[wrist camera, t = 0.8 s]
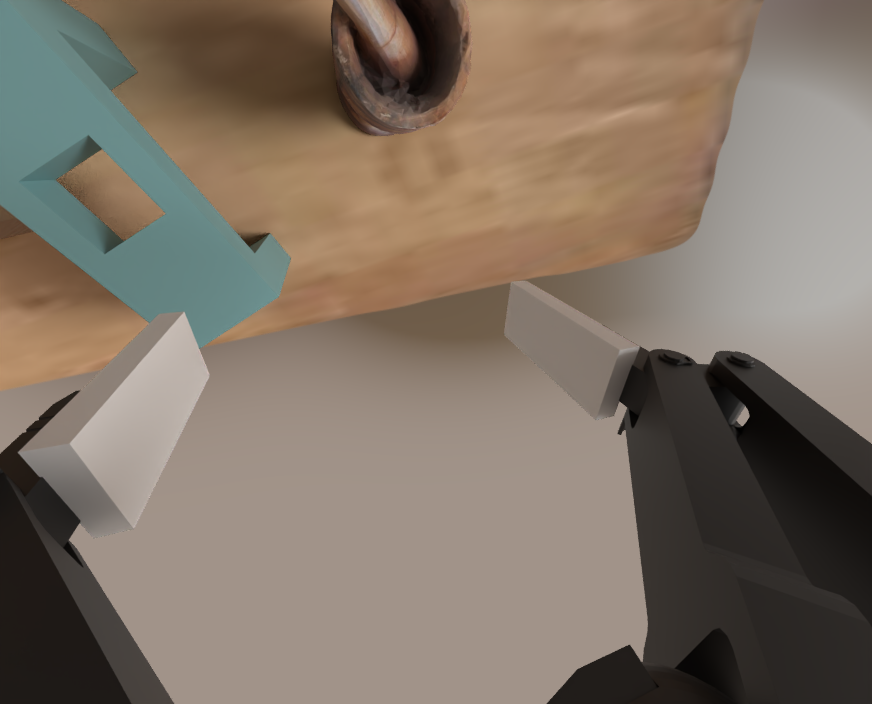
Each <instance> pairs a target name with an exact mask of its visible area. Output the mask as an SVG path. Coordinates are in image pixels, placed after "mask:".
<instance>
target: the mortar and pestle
mask: <svg viewBox="0 0 872 704" xmlns="http://www.w3.org/2000/svg"><path fill="white" fill-rule="evenodd" d="M331 36H332V52H333V60H334V67H335V72H336V76H337V90H338V94H339V97H340V100H341V103H342V105H343V107H344V109H345V111H346V112H347V114H348V116H349V117H350V119H351V120H352V121H353V122H354V124H355V125H356V126H357V127H358V128H360V129H361V130H363V131H364V132H366V133H369V134H371V135H375V136H388V135H394V134H403V133H410V132H413V131H416V130H419V129H421V128H425V127H428V126H435V125H436V124H438V123H439V122H441V121H442V120H444V118H445V117H446V116H447V114H448V113H449V112H450V111H451V110H452V109H453V108H454V106H455V105H456V103H457V101H458V100H459V99H460V97H461V95H462V93H463V91H464V89H465V87H466V84H467V80H468V76H469V73H470V70H471V61H470V60H471V51H472V45H473V44H472V36H471V25H470V18H469V11H468V7H467V5H466V2H465V0H333V7H332V13H331Z"/></svg>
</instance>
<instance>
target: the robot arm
mask: <svg viewBox="0 0 872 704" xmlns="http://www.w3.org/2000/svg"><path fill="white" fill-rule="evenodd" d="M504 335H505V336H506V337H507V338H508V339H509V340H510V341H511V342H512V343H513V344H515V345H516V346H517V347H518V348H519V349H520V350H521V351H522V352H523V353H524V354H525V355H526V356H527V357H529V358H530V359H531V360H532V361H533V362H534V363H535V364H536V365H537V366H538V367H539V368H540V369H541V370H542V371H544V372H545V373H546V374H547V375H548V376H549V377H550V378H551V379H552V380H553V381H554V382H556V384H557V385H559V386H560V387H561V388H562V389H563V390H564V391H565V392H566V393H567V394H568V395H570V397H572V399H574V400H575V401H576V402H577V403H578V404H579V405H580V406H581V407H582V408H583V409H584V410H585V411H586V412H588V413H589V414H590V415H591V416H592V417H593V418H594V419H595V420H599V419H603V418H607V417H611V416H614V414H615V412H616V409H617V406H618V403H619V401H620V402H621V403H622V404H624V405H625V406H626V407H627V410H626V413H625V415H624V418H623V420H622V423H621V425H620V428H619V430H618V434H619V435H621V434H622V431H624V430H626V437H627V446H628V455H629V463H630V471H631V480H632V488H633V497H634V505H635V514H636V523H637V531H638V539H639V547H640V556H641V565H642V573H643V582H644V590H645V599H646V608H647V616H648V632H647V637H646V642H645V647H644V655H643V662H641V661H640V659H639V658H638V656H637V655H636V653H635V652H634V650H633V649H632V647H631V646H630V645H628V646H625V647H624V648H621V649H619V650H617V651H615V652H613V653H611V654H609V655H606V656H605V657H602V658H600V659H598V660H596V661H594V662H592V663H590V664H588V665H585V666H583V667H581V668H579V669H577V670H576V672H575V673H574V674H573V675H572V676H571V677H570V678H569V679H568V680H567V682H566V683H565V684H564V685H563V686H562V687H561V688H560V689H559V690H558V692H557V693H556V694H555V695H554V696H553V697H552V698H551V699H550V701H549V702H548V703H547V704H872V444H871V443H870V442H868V441H867V440H866V439H864V438H863V437H862V436H860V435H859V434H857V433H856V432H855V431H854V430H852V429H851V428H850V427H848V426H847V425H846V424H844V423H843V422H841V421H840V420H839V419H838V418H836V417H835V416H833V415H832V414H831V413H829V412H828V411H827V410H826V409H824V408H823V407H821V406H820V405H819V404H817V403H816V402H815V401H813V400H812V399H811V398H809V397H808V396H807V395H806V394H804V393H803V392H802V391H800V390H799V389H798V388H796V387H795V386H793V385H792V384H791V383H790V382H788V381H787V380H785V379H784V378H783V377H781V376H780V375H779V374H777V373H776V372H775V371H773V370H772V369H771V368H769V367H768V366H767V365H765V364H764V363H762V362H761V361H759V360H757V359H755V358H753V357H751V356H750V355H748V354H745V353H741V352H730V351H719V352H716V353H715V355H714V357H713V359H712V361H711V363H710V365H708V364H697V363H696V362H695V361H694V360H693V359H691V358H690V357H688V356H686V355H684V354H681V353H679V352H675V351H671V350H664V349H656V350H652V351H650V352H649V351H647V350H646V349H644V348H642V347H640V346H639V345H637V344H635V343H633V342H632V341H630V340H628V339H626V338H625V337H622V336H621V335H619V334H618V333H616V332H614V331H612V330H611V329H609V328H607V327H606V326H604V325H602V324H600V323H598V322H596V321H595V320H593V319H591V318H589V317H588V316H586V315H584V314H583V313H581V312H579V311H577V310H576V309H574V308H572V307H570V306H569V305H567V304H565V303H564V302H562V301H560V300H558V299H557V298H555V297H553V296H551V295H550V294H548V293H546V292H544V291H543V290H541V289H539V288H538V287H536V286H534V285H532V284H530V283H529V282H527V281H515V282H511V286H510V295H509V302H508V309H507V317H506V324H505V331H504ZM209 376H210V375H209V372H208V370H207V367H206V365H205V362H204V360H203V357H202V355H201V352H200V350H199V347H198V345H197V342H196V340H195V337H194V335H193V332H192V330H191V327H190V325H189V322H188V320H187V317H186V315H185V312H174V313H163V314H158V315H157V316H156V317H155V318H154V319H153V320H152V321H151V322H150V323H149V324H148V325H147V326H146V327H145V328H144V329H143V330H142V331H141V332H140V333H139V334H138V335H137V336H136V337H135V338H134V339H133V340H132V341H131V342H130V343H129V344H128V345H127V346H126V347H125V348H124V349H123V350H122V351H121V352H120V353H119V354H118V355H117V356H116V357H115V358H114V359H113V360H112V361H110V362H109V363H108V364H107V365H106V366H105V367H104V368H103V369H102V370H101V371H100V372H99V373H98V374H97V375H96V376H95V377H94V378H93V379H92V380H91V381H90V382H89V383H88V384H87V385H86V386H85V387H84V388H83V389H82V390H81V391H75V392H73V393H72V394H70V395H68V396H67V397H65V398H63V399H62V400H60V401H58V402H56V403H55V404H53V405H52V406H51V407H50V408H49V409H48V410H47V411H46V412H45V413H44V414H42V415H41V416H40V417H39V420H38V421H35V422H34V423H33V424H32V425H31V426H30V427H29V428H27V429H26V432H25V433H22V434H21V435H20V436H19V437H18V438H17V439H16V440H15V441H13V442H12V443H11V444H10V445H9V446H8V447H7V448H6V449H5V450H4V451H3V452H2V453H1V454H0V704H174V703H173V701H172V700H171V698H170V696H169V695H168V693H167V692H166V690H165V688H164V687H163V685H162V684H161V682H160V680H159V679H158V677H157V676H156V674H155V672H154V671H153V669H152V668H151V666H150V664H149V663H148V661H147V660H146V658H145V657H144V655H143V653H142V652H141V650H140V649H139V647H138V646H137V644H136V642H135V641H134V639H133V637H132V636H131V634H130V633H129V631H128V629H127V628H126V626H125V625H124V623H123V622H122V620H121V618H120V617H119V615H118V614H117V612H116V610H115V609H114V607H113V606H112V604H111V602H110V601H109V599H108V598H107V596H106V595H105V593H104V592H103V590H102V588H101V587H100V585H99V583H98V582H97V580H96V579H95V577H94V575H93V574H92V572H91V571H90V569H89V568H88V566H87V564H86V563H85V561H84V560H83V558H82V556H81V555H80V553H79V552H78V550H77V548H75V546H74V545H73V544H72V543H71V542H70V541H69V538H70V537H71V535H72V534H73V532H74V531H75V529H76V528H77V526H78V524H79V523H80V524H81V525H82V526H83V527H84V528H85V529H86V531H87V532H88V533H89V534H90V535H91V536H92V537H93V538H98V537H102V536H106V535H110V534H115V533H119V532H123V531H127V530H132V529H134V528H135V526H136V523H137V522H138V520H139V518H140V516H141V513H142V511H143V509H144V507H145V505H146V503H147V501H148V499H149V497H150V495H151V493H152V491H153V489H154V487H155V485H156V483H157V481H158V479H159V477H160V475H161V473H162V471H163V469H164V467H165V465H166V463H167V461H168V459H169V457H170V455H171V453H172V451H173V449H174V447H175V445H176V443H177V441H178V438H179V436H180V435H181V432H182V431H183V429H184V426H185V424H186V422H187V420H188V418H189V416H190V414H191V412H192V410H193V408H194V406H195V404H196V402H197V400H198V398H199V396H200V394H201V392H202V390H203V388H204V386H205V384H206V381H207V380H208V378H209ZM745 406H746V408H747V409H748V411H749V415H750V417H749V419H748V420H747V422H746V423H745V424H744V426H741V425H740V424H739V423H738V422H737V421H736V420H737V418H738V417H739V415H740V414H741V412H742V410H743V409H744V407H745Z"/></svg>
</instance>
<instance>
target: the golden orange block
mask: <svg viewBox="0 0 872 704" xmlns="http://www.w3.org/2000/svg"><path fill="white" fill-rule="evenodd" d="M30 232H34V231H33V230H31V229H30V228H29V227H28V226H26V225H25V224H24V223H22V222H21V221H20V220H19V219H17V218H16V217H15V216H14V215H12V214H11V213H10V212H9V211H7V210H6V209H5V208H3V207H2V206H1V205H0V239H3V238H7V237H12V236H16V235H21V234H25V233H30Z"/></svg>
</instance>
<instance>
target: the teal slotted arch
mask: <svg viewBox="0 0 872 704" xmlns="http://www.w3.org/2000/svg"><path fill="white" fill-rule="evenodd" d="M136 73H137V71H136V70H135V68H134V67H133V66H132V65H131V64H130V62H129V61H128V60H127V59H126V57H125V56H124V55H123V54H122V53H121V51H120V50H119V49H118V48H117V47H116V45H115V44H114V43H113V42H112V40H111V39H110V38H109V37H108V36H107V34H106V33H105V32H104V31H103V30H102V28H101V27H100V26H99V25H98V24H97V23H96V22H94V21H92V20H91V19H89V18H88V17H86V16H85V15H83V14H82V13H80V12H79V11H77V10H75V9H74V8H72V7H71V6H69V5H68V4H66V3H65V2H63V1H62V0H0V205H1V206H2V207H3V208H5V209H6V210H7V211H9V212H10V213H11V214H12V215H14V216H15V217H16V218H17V219H19V220H20V221H21V222H22V223H24V224H25V225H26V226H28V227H29V228H30V229H31V230H33V231H34V232H35V233H36V234H38V235H39V236H40V237H41V238H43V239H44V240H45V241H47V242H48V243H49V244H50V245H52V246H53V247H54V248H55V249H57V250H58V251H59V252H60V253H62V254H63V255H64V256H65V257H67V258H68V259H69V260H71V261H72V262H73V263H74V264H76V265H77V266H78V267H79V268H81V269H82V270H83V271H84V272H86V273H87V274H88V275H90V276H91V277H92V278H93V279H95V280H96V281H97V282H98V283H100V284H101V285H102V286H103V287H105V288H106V289H107V290H109V291H110V292H111V293H112V294H114V295H115V296H116V297H117V298H119V299H120V300H121V301H122V302H124V303H125V304H126V305H128V306H129V307H130V308H131V309H133V310H134V311H135V312H136V313H138V314H139V315H140V316H141V317H143V318H144V319H145V320H146V321H148V322H149V323H150V322H151V321H152V320H153V319H154V318H155V317H156V316H157V315H158V314H163V313H174V312H185V315H186V317H187V320H188V322H189V325H190V327H191V330H192V332H193V335H194V337H195V340H196V342H197V345H198V347H199V349H200V348H201V347H203V346H205V345H206V344H208V343H209V342H211V341H212V340H214V339H215V338H217V337H218V336H220V335H221V334H223V333H224V332H226V331H227V330H229V329H230V328H232V327H233V326H235V325H237V324H238V323H240V322H241V321H243V320H244V319H246V318H247V317H249V316H250V315H252V314H253V313H255V312H256V311H258V310H259V309H261V308H262V307H264V306H266V305H267V304H269V303H270V302H272V301H273V300H275V299H276V298H278V297H279V295H280V292H281V288H282V285H283V282H284V279H285V276H286V273H287V269H288V266H289V263H290V260H291V258H290V257H289V255H288V254H287V253H286V252H285V250H284V249H283V248H282V247H281V246H280V244H279V243H278V242H277V241H276V240H275V238H274V237H273V236H272V235H271V233H270V234H268V235H267V236H265V237H264V238H262V239H261V240H259V241H258V242H256V243H255V244H253V245H251V246H250V247H249V246H248V245H247V244H246V243H245V242H244V241H243V240H242V238H241V237H240V236H239V235H238V234H237V233H236V232H235V231H234V229H233V228H232V227H231V226H230V225H229V224H228V223H227V222H226V220H225V219H224V218H223V217H222V216H221V215H220V214H219V213H218V211H217V210H216V209H215V208H214V207H213V206H212V205H211V203H210V202H209V201H208V200H207V199H206V198H205V197H204V196H203V194H202V193H201V192H200V191H199V190H198V189H197V188H196V187H195V185H194V184H193V183H192V182H191V181H190V180H189V179H188V178H187V176H186V175H185V174H184V173H183V172H182V171H181V170H180V169H179V167H178V166H177V165H176V164H175V163H174V162H173V161H172V159H171V158H170V157H169V156H168V155H167V154H166V153H165V152H164V150H163V149H162V148H161V147H160V146H159V145H158V144H157V143H156V141H155V140H154V139H153V138H152V137H151V136H150V135H149V134H148V132H147V131H146V130H145V129H144V128H143V127H142V126H141V125H140V123H139V122H138V121H137V120H136V119H135V118H134V117H133V116H132V114H131V113H130V112H129V111H128V110H127V109H126V108H125V106H124V105H123V104H122V103H121V102H120V101H119V100H118V99H117V97H116V96H115V95H114V94H113V93H112V92H111V91H110V90H112V89H113V88H115V87H116V86H118V85H119V84H121V83H122V82H124V81H125V80H127V79H128V78H130V77H131V76H133V75H134V74H136ZM101 149H103V150H104V151H105V152H106V153H107V154H108V155H109V156H110V157H111V158H112V159H113V160H114V161H115V162H116V163H117V164H118V165H119V166H120V167H121V168H122V169H123V170H124V171H125V172H126V174H127V175H128V176H129V177H130V178H131V179H132V180H133V181H134V182H135V183H136V184H137V185H138V186H139V187H140V188H141V189H142V190H143V191H144V192H145V193H146V194H147V195H148V196H149V197H150V198H151V199H152V200H153V201H154V202H155V203H156V204H157V205H158V206H159V207H160V208H161V209H162V210H163V211H164V212H165V213H166V214H165V215H163V216H162V217H160V218H159V219H157V220H156V221H154V222H153V223H151V224H150V225H148V226H147V227H145V228H144V229H142V230H141V231H139V232H138V233H136V234H135V235H133V236H132V237H130V238H129V239H127V240H126V241H123V240H122V239H121V238H120V237H119V236H117V235H116V234H115V233H114V232H113V231H112V230H111V229H110V228H109V227H107V226H106V225H105V224H104V223H103V222H102V221H101V220H100V219H99V218H97V217H96V216H95V215H94V214H93V213H92V212H91V211H90V210H88V209H87V208H86V207H85V206H84V205H83V204H82V203H81V202H80V201H78V200H77V199H76V198H75V197H74V196H73V195H72V194H71V193H69V192H68V191H67V190H66V189H65V188H64V187H63V186H62V185H61V184H59V183H58V182H57V181H56V179H57V178H59V177H60V176H62V175H63V174H65V173H66V172H68V171H69V170H71V169H72V168H74V167H75V166H77V165H78V164H80V163H81V162H83V161H84V160H86V159H87V158H89V157H90V156H92V155H94V154H95V153H97V152H98V151H100V150H101Z"/></svg>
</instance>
